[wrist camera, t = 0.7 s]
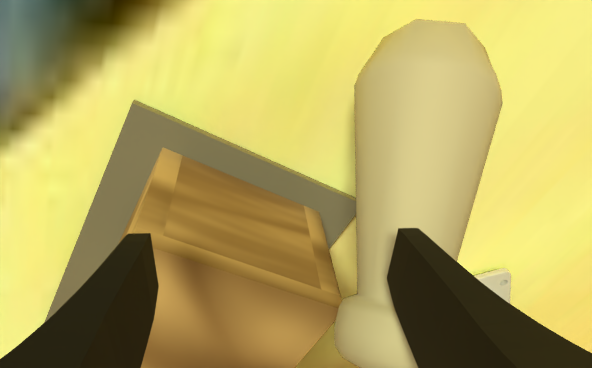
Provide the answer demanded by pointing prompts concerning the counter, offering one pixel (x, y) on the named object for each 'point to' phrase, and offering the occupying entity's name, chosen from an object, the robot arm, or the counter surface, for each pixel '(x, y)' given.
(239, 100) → the counter surface
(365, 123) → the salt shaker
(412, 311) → the robot arm
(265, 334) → the oak crate
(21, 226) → the counter surface
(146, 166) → the slate board
